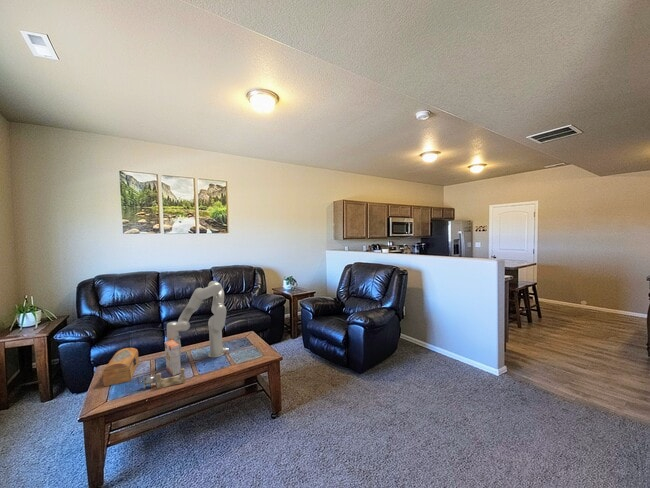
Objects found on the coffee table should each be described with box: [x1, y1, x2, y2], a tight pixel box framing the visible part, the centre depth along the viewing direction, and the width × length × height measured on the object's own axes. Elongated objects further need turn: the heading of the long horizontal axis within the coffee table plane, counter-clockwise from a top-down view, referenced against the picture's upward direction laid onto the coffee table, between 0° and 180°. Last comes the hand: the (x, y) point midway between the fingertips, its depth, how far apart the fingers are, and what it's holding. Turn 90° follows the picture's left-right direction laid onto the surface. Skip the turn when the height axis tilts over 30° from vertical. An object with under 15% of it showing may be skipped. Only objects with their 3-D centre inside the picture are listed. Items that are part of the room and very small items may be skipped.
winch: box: [136, 373, 158, 390], centre depth 179 cm, size 11×4×8 cm, turn 115°
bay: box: [156, 367, 186, 390], centre depth 185 cm, size 16×10×9 cm, turn 115°
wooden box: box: [102, 347, 139, 387], centre depth 198 cm, size 30×16×14 cm, turn 24°
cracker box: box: [164, 340, 182, 377], centre depth 198 cm, size 14×6×21 cm, turn 46°
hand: (173, 362), depth 208 cm, fingers closed
